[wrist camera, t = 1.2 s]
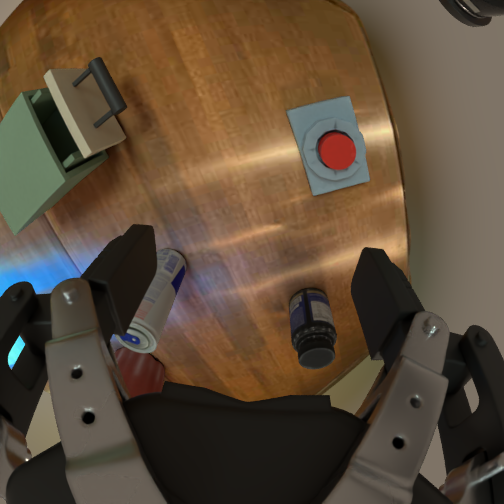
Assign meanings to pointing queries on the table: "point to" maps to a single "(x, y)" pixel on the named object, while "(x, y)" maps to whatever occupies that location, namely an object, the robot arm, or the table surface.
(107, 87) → the drawer
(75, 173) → the cabinet casing
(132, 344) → the beverage can
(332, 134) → the button
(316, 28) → the table surface
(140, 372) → the flower pot
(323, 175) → the control block
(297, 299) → the pill bottle
